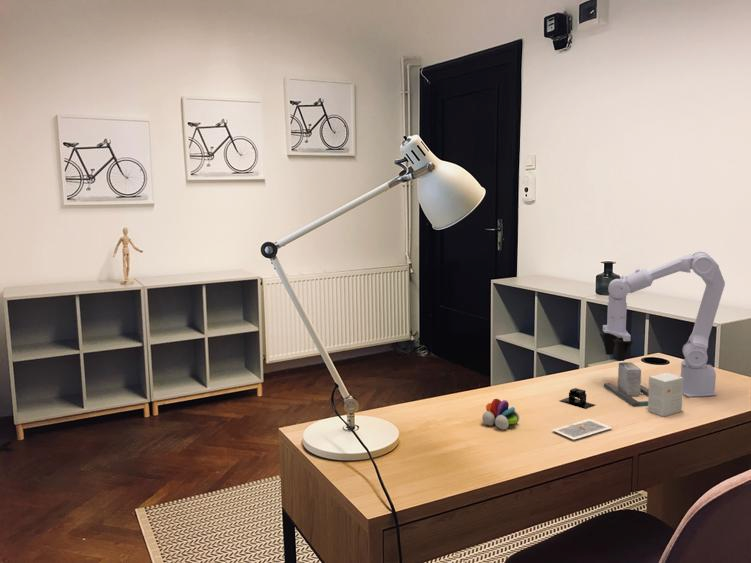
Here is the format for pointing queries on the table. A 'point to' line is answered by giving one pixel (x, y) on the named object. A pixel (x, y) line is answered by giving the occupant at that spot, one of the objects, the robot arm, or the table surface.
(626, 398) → the track
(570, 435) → the touchpad
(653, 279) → the robot arm
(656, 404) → the small box
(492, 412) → the bunch of balls
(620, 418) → the table surface
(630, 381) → the medicine box
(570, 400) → the black ring bracket
